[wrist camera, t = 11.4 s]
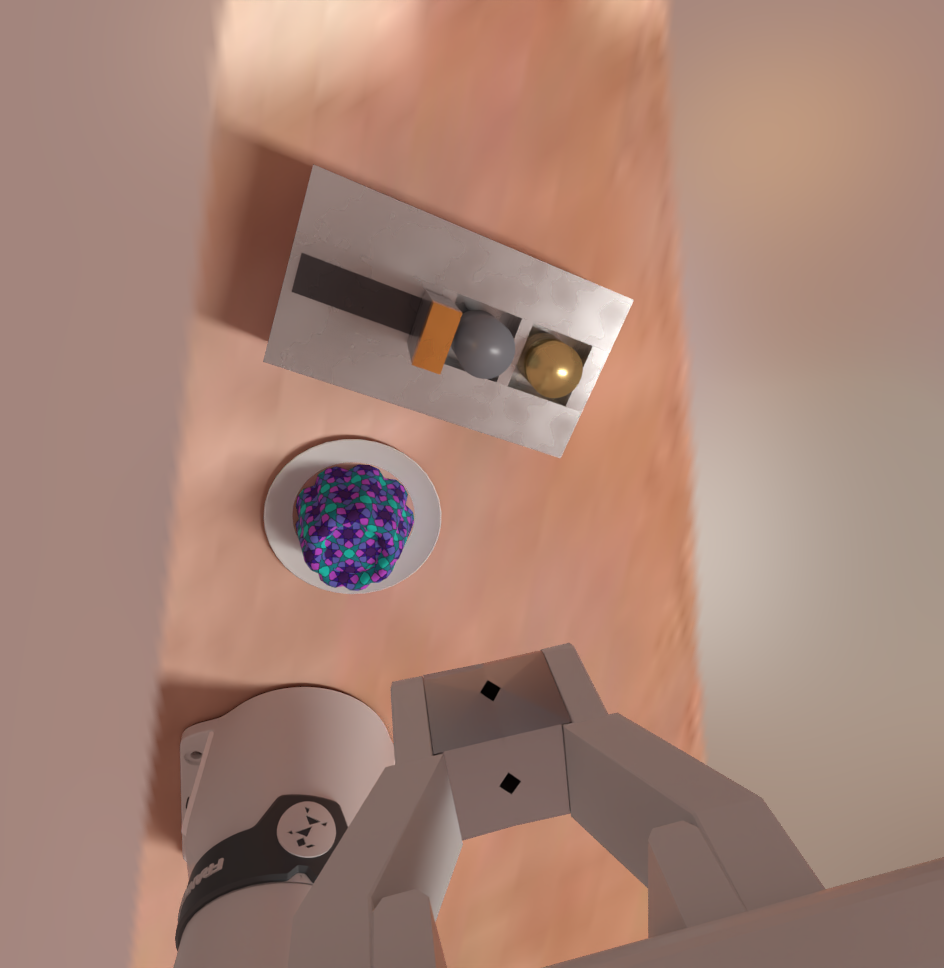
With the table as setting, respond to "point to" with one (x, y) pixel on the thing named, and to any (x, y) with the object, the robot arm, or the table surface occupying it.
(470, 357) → the button slate
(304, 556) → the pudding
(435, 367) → the slider
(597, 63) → the table surface
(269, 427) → the table surface
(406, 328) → the panel
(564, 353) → the button brass
